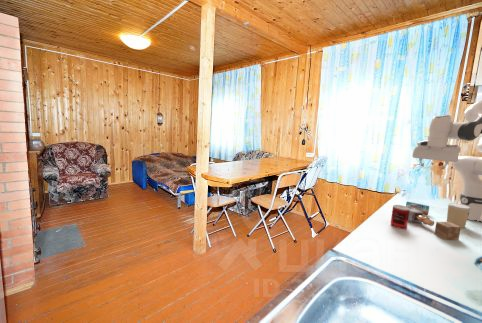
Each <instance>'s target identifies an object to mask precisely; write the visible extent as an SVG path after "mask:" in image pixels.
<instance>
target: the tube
mask: <svg viewBox="0 0 482 323" xmlns="http://www.w3.org/2000/svg"><path fill="white" fill-rule="evenodd" d="M414 218H415V219H417V220H419V221H421V222H422V224H424V225H426V226H430V227H433V226H434V225H435V221H434V220H431V219H430V218H429V217H427V216H424V215H423V216H421V215H418V214H415V216H414Z"/></svg>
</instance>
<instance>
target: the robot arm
mask: <svg viewBox="0 0 482 323" xmlns="http://www.w3.org/2000/svg"><path fill="white" fill-rule="evenodd" d="M463 116H464V119H465V121H453V120H452V117H451V115H450V114H442V115H440V114H439V115H435V116H433V118H432V120H431V121H430V125H429V131H428V132H429V134H428V136H427V139H426V140H423V141H417V142H416V146H415V147H414V149H413V151H412V155H411V156H412V158H413V159H418V162H419V163H420V166H419V167H424V165H425V163H423V162H422V161H423V160H430V161H431V160H432V161H442V162H444V164H443V165H441V168H440V169H441V170H446V167H447V166H448V165H449V164H450V162H452V166H453V168H454V170H455V171H457V172H458V174H459V176H460V177H461V178H462V189H461V193H460V195H459V200H458V201H457V204H462V205H465V206H468V207H470V211H469V215H468V218H467V220H470V221H474V220H477V221H476V222H479V221H481V222H480V223H482V179H481V178H480V177H479V176H482V156H476V155H475V156H472V155H460V154H459V153H461V149H462V148H461V147H460V146H458V145H456V144H448V140H458V141H459V140H462V141H468V142H469V141H471V142H472V141H474V140H476V139H477V138H478V137H479V136H480V135H481V133H482V99H481V100H479V101H477V102H475V103H472V104H471V105H470V106H468V107H467V108H466V109H465V110H464V114H463ZM476 149H477V151H479V153H481V154H482V136H481V137H480V139H479V141H478V143H477V145H476Z"/></svg>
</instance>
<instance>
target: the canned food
mask: <svg viewBox="0 0 482 323" xmlns="http://www.w3.org/2000/svg"><path fill="white" fill-rule="evenodd" d="M409 211H410V208H408V207H406V205H401V204H394V205H392V210H391V219H390V225H391V226H393V227H395V228H397V229H403V230H405V229H407V227H408V223H409V221H408V218H409Z"/></svg>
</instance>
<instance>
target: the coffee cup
mask: <svg viewBox="0 0 482 323" xmlns="http://www.w3.org/2000/svg"><path fill="white" fill-rule="evenodd" d="M469 211H470V207H468V206H465V205H462V204H458V203H455V202H454V203H453V202H450V203H448V204H447V214H446V215H447V216H446V222H450V223H453V224H455V225H458V226H460V227H461V229H465V228H466V225H467V221H468V219H467V218H468V215H469Z"/></svg>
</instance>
